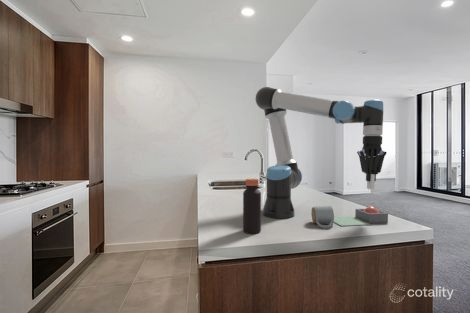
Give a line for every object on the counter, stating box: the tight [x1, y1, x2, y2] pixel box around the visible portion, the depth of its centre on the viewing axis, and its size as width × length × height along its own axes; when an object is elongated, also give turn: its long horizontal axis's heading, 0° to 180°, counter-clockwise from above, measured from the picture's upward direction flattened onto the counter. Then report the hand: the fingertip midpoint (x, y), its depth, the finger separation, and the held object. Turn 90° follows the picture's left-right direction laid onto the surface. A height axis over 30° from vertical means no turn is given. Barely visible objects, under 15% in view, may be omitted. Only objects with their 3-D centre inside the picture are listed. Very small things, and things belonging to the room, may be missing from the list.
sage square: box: [333, 215, 371, 227], centre depth 106 cm, size 13×13×1 cm
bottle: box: [242, 178, 262, 235], centre depth 92 cm, size 7×7×20 cm
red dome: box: [363, 205, 380, 214], centre depth 107 cm, size 6×6×5 cm
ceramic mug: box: [311, 205, 335, 229], centre depth 100 cm, size 11×8×8 cm
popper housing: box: [354, 208, 389, 224], centre depth 107 cm, size 9×9×4 cm
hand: (370, 188), depth 107 cm, fingers closed
